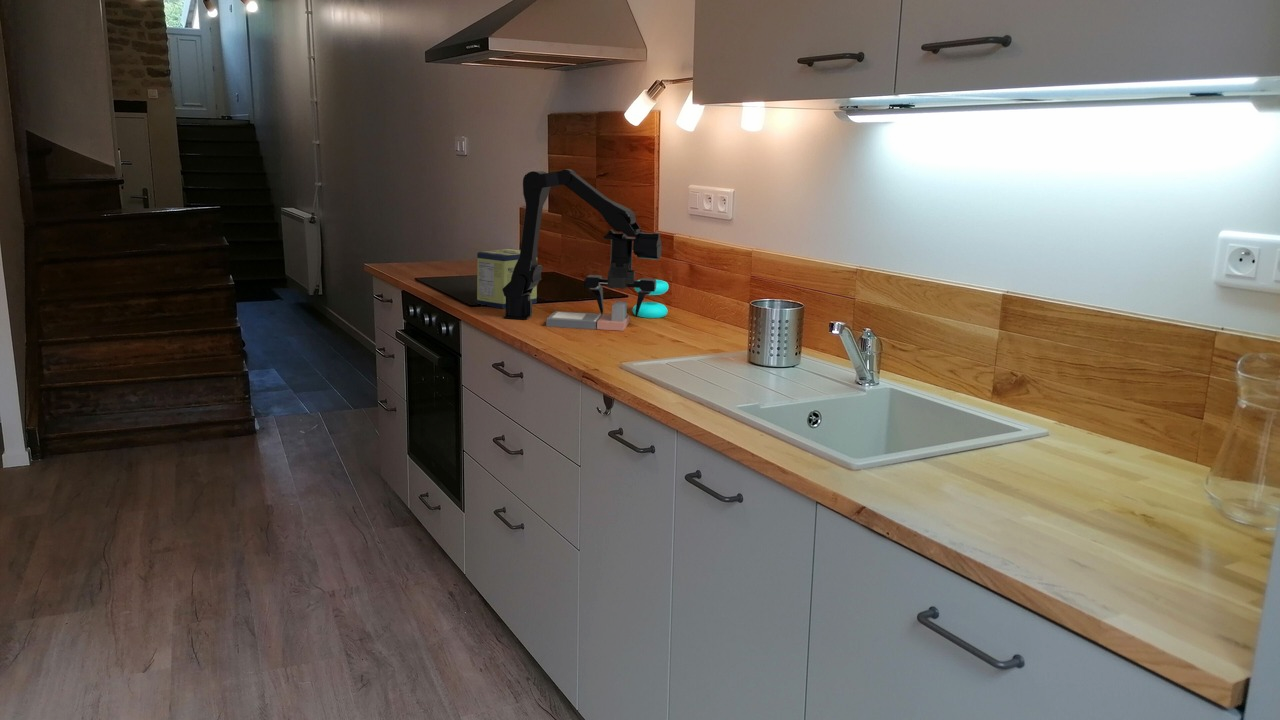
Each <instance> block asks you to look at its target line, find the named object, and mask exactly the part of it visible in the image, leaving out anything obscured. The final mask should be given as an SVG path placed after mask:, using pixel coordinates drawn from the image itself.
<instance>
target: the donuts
mask: <svg viewBox="0 0 1280 720" xmlns="http://www.w3.org/2000/svg"><path fill="white" fill-rule="evenodd" d="M640 280H641V279H638V280H636V281H640ZM655 280H656V290H655V291H654V292H651V293H650V294H648V295H647V294H646V295H647V296H658V295H663V294H665V293H666V292H668V290H669V288H670V286H669V283H668V282H667V281H664V280H662V279H655ZM633 289H634V290H635V291H636V292H637V293H638V292H639V291H640V288H636V287H633ZM636 305H637V303H636V304H634V306H633V308H632V313H633V314H634V315H635V312H636ZM668 312H669V310H668V308H667V307H666V305H664V304H663V303H660V302H656V301H655V302H654V301H643V302H642V304H641V307H640V310H639V313H638V315H637V317H639V318H644V319H645V318H647V319H659V318H664V317H666V316H667V315H668Z"/></svg>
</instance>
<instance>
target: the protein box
mask: <svg viewBox="0 0 1280 720" xmlns="http://www.w3.org/2000/svg"><path fill="white" fill-rule="evenodd" d="M519 256H520V249H517V248H505V249H495V250H486V251H478V252H477V255H476V257H477V259H476V260H477V265H476V266H477V267H476V269H477V274H476V277H477V278H476V282H477V283H476V285H477V286H476V288H477V289H476V298H477V299H476V301H477V302H476V304H477V303H479V304H483V305H487V306H486V307H489V306H490V308H495V309H500V310H505V308H506V297H505V296H504V293H503V290H502V289H503V288H504V287H505V286H506V285H507V284H508V283H509V282H510V281H511V277H512V274H513V270H514V267H515V265H516V263H517V261H518V259H519ZM536 258H537V259H538V255H537V256H536ZM537 290H538V285H537V286H535V287H534V288H533V290H532V293H531V294H528V295H530V300H532V305H534V304H537V297H538V293H537V292H538V291H537Z"/></svg>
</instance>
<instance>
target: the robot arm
mask: <svg viewBox="0 0 1280 720" xmlns="http://www.w3.org/2000/svg"><path fill="white" fill-rule="evenodd" d="M558 186H559V187H560V186H565V187H567V188H568V189H569V190H570V191H571V192H573V193H574V194H576V195H577V196H578V197H580V198H581V199H582V200H583V201H584V202H585V203H587V204H588V205H590V207H592V208H593V209H595V210H596V211H597V212H598V213H599V214H600V215H601V217H602V218H603V219H604V221H605V222H606V223H607V224H608V225H609V226H610V228H612V229H609V230H608V232H607V233H606V234H604V235H603V239H604V240H610V257H609V258H610V264H609V269H608V272H607V278H603V275H598V274H596V275H595V274H588V275H587V276H586V277H584V279H583V280H584V281H583V288H585V289H588V292H592V293H593V295H594V296H595V299H596V302H597V305H598V308H599V311H600V314H602V315H603V314H604V310H605V309H604V288H603V286H605V287H607V288H608V289H621V290H624V289H627V288H634V287H636V288H640V291H639V292H637V300H636V304H637V305H636V304H635V305H636V312H635V314H634V316H635V318H636V317H638V316H637V315H638V313H639V310H640V307H641V304H642V302H644V299H645V297H646V294H647V296H649V295H648V294H650V293H651V292H654V291H655V290H656V280H657V279H655V278H650V277H641V278H640V279H639V280H640V281H637V280H636V273H635V270H634V269H632V268H633V254H634V255H636V258H638V259H648V260H660V259H661V256H662V250H663V245H662V239H661V233H660V232H653V233H650V232H643V230H642V229H641V227H640V225H639V224H638V222H637V219H636V214H635V212H634V211H633V210H632V209H630V208H629V207H626V206H624V205H623V204H620V203H619V202H616V201H613V200H612V199H610V198H609V197H607V196H605V195H604V194H603V192H600V191H599V190H597V189H596V188H595V187H594V186H592V185H591V184H590V183H588V182H587V181H586V180H585V179H584V178H582V177H581V176H580V175H578V174H577V173H576V171H574V170H573V169H570V168H568V169H567V168H566V169H561V170H557V171H552V172H546V171H544V170H543V171H542V170H534V171H529V172H527V173H526V174H525V175H524V176H523V179H522V194H523V198H524V202H525V208H524V218H523V226H522V233H521V241H520V242H521V244H520V249H519V250H520V256H519V259H518V261H517V263H516V265H515V267H514V270H513V274H512V277H511V281H510V282H509V283H508V284H507V285H506V286H505V287H504V288H503V289H502V290H503V293H504V296H505V297H506V308H505V309H504V310H505V312H504V313H505V314H504V315H503V319H511V320H512V319H513V320H514V319H515V320H528V319H530V318H531V317H532V316H533V304H532V300H530V295H528V294H531V293H532V290H533V288H534V287H535V286H537V287H538V285H539V282H540V281H542V279H543V278H542V271H543V265H541V264H539V263H538V247H539V239H540V230H541V224H542V216H543V207H544V205H545V203H546V201H547V199H548V197H549V194H550V189H551V188H553V187H558ZM536 256H537V258H536Z"/></svg>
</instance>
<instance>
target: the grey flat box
mask: <svg viewBox="0 0 1280 720" xmlns="http://www.w3.org/2000/svg"><path fill="white" fill-rule="evenodd" d="M601 316H602V314H601V313H594V312H593V313H592V312H577V311H576V312H572V311H561V310H560V311H559V310H558V311H557V310H555V311H554V312H552V313H551V314H550V315H549V316H548V317H547V318H546V319H545V320H546V321H545V323H546V324H545V327H552V328H567V329H568V328H569V329H583V330H598V329H597V321H598V320H599V319H600V318H601Z"/></svg>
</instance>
